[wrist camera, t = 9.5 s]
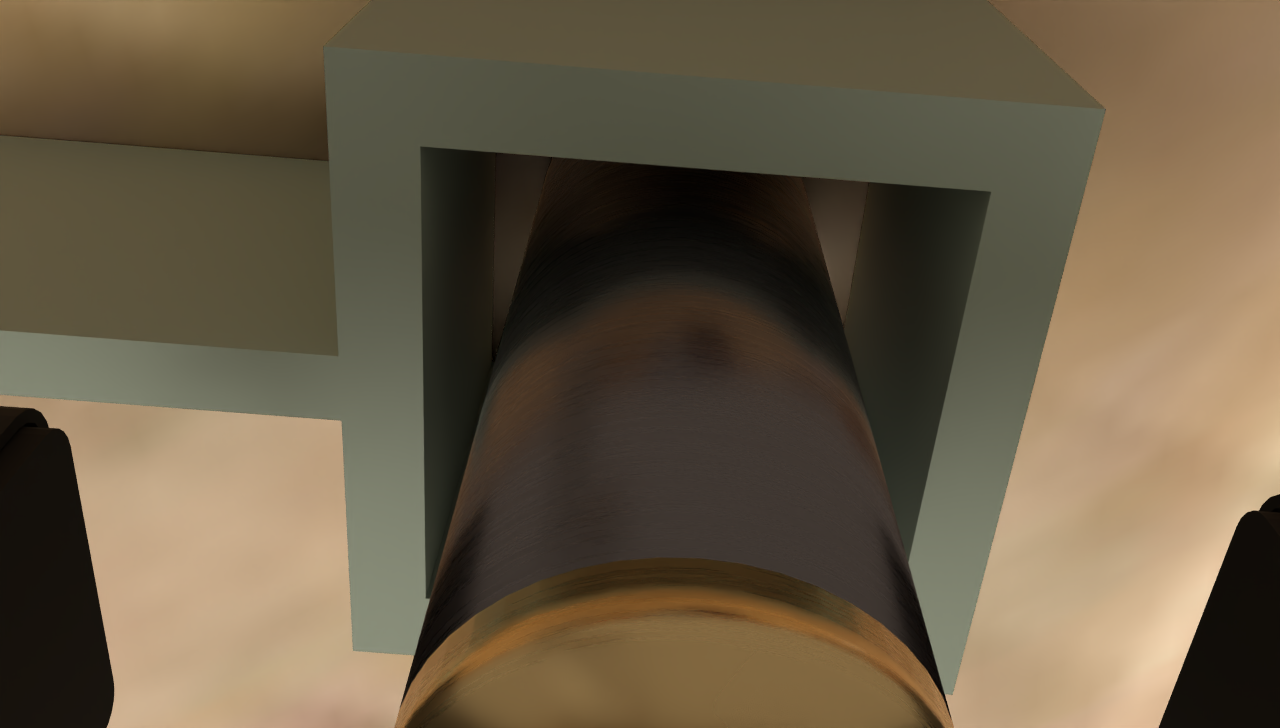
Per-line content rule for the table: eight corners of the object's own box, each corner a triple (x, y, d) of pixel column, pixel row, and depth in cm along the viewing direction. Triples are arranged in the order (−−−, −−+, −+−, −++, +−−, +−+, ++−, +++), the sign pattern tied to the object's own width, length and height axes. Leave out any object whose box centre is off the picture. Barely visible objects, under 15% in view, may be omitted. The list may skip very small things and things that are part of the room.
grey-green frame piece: (-117, -105, 17) (-486, -19, 11) (969, -16, 17) (1105, 109, 11) (53, 707, 24) (-126, 994, 18) (815, 762, 24) (856, 1062, 19)
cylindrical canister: (547, 71, 18) (352, 619, 7) (823, 93, 18) (1050, 670, 7) (537, 319, 19) (374, 1047, 9) (786, 338, 19) (921, 1084, 9)
